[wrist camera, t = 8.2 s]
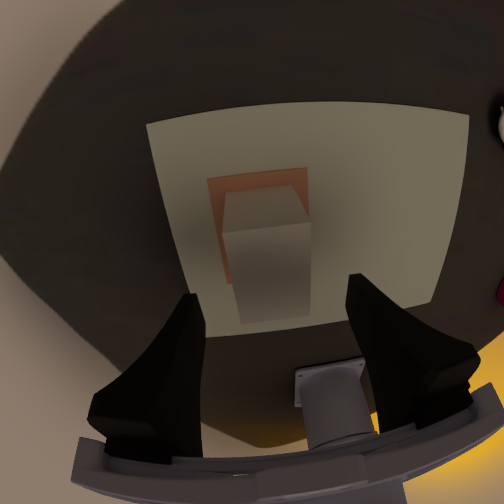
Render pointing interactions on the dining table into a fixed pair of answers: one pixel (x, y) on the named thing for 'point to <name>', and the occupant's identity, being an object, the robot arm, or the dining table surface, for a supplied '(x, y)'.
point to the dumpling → (501, 124)
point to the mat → (320, 196)
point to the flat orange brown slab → (252, 181)
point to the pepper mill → (501, 293)
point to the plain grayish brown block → (268, 253)
